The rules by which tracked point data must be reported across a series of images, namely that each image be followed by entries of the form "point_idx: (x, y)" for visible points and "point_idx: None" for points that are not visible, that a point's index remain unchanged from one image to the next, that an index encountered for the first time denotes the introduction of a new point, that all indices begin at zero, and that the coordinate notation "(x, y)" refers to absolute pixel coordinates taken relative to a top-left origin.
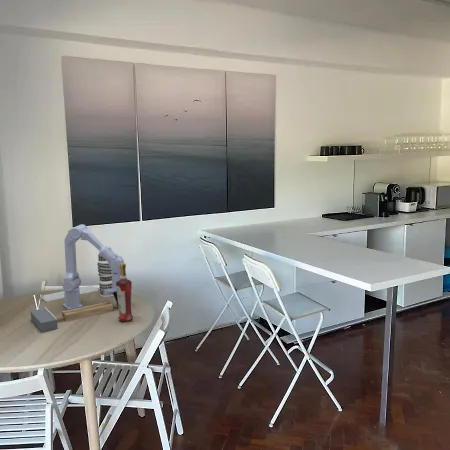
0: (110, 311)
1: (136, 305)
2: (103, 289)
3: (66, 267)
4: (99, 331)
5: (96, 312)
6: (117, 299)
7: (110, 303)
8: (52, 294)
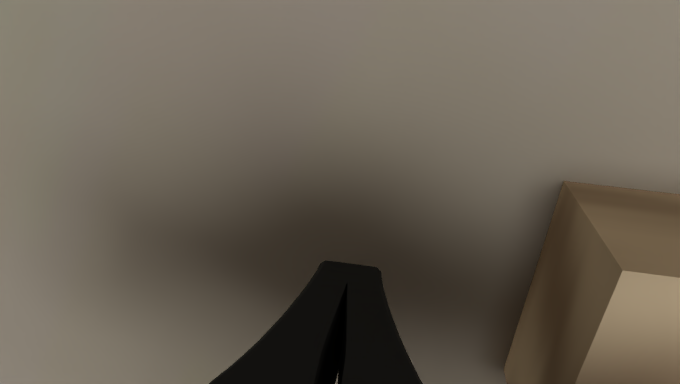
0: (630, 189)
1: (21, 137)
2: None
3: None
4: None
5: None
6: (418, 381)
7: (589, 379)
8: None
